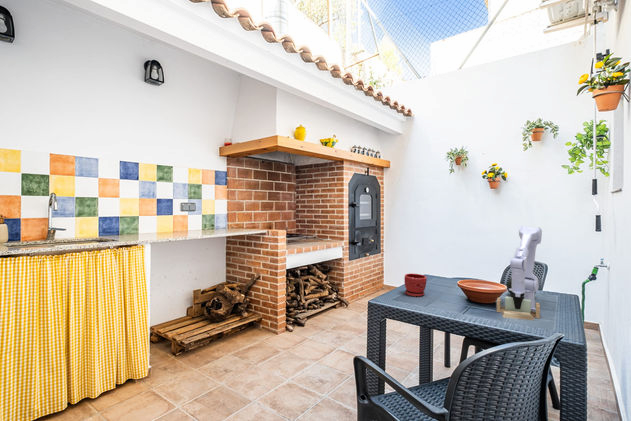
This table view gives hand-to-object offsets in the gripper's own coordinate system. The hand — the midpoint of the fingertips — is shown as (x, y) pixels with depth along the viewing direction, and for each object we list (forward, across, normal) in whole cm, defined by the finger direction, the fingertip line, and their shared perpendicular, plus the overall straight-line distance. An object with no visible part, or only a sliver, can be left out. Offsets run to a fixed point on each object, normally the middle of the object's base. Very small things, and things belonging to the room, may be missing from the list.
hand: (517, 307), depth 168 cm
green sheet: (+3, 0, 0) cm, 3 cm away
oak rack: (+3, 0, 0) cm, 3 cm away
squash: (+3, -38, +1) cm, 38 cm away
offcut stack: (+3, +7, 0) cm, 8 cm away
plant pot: (+3, -6, -54) cm, 54 cm away
